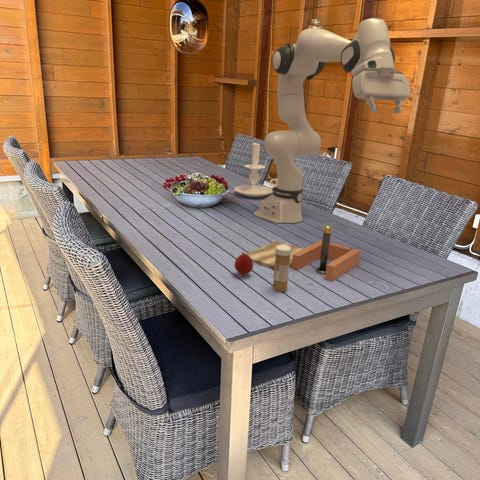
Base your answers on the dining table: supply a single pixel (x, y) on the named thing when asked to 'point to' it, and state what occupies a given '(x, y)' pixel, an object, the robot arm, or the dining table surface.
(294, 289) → the dining table surface
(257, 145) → the candlestick
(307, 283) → the dining table surface
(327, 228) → the post stand
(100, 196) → the dining table surface
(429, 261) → the dining table surface
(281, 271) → the sprinkles bottle
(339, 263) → the c link
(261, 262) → the tray
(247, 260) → the onion
